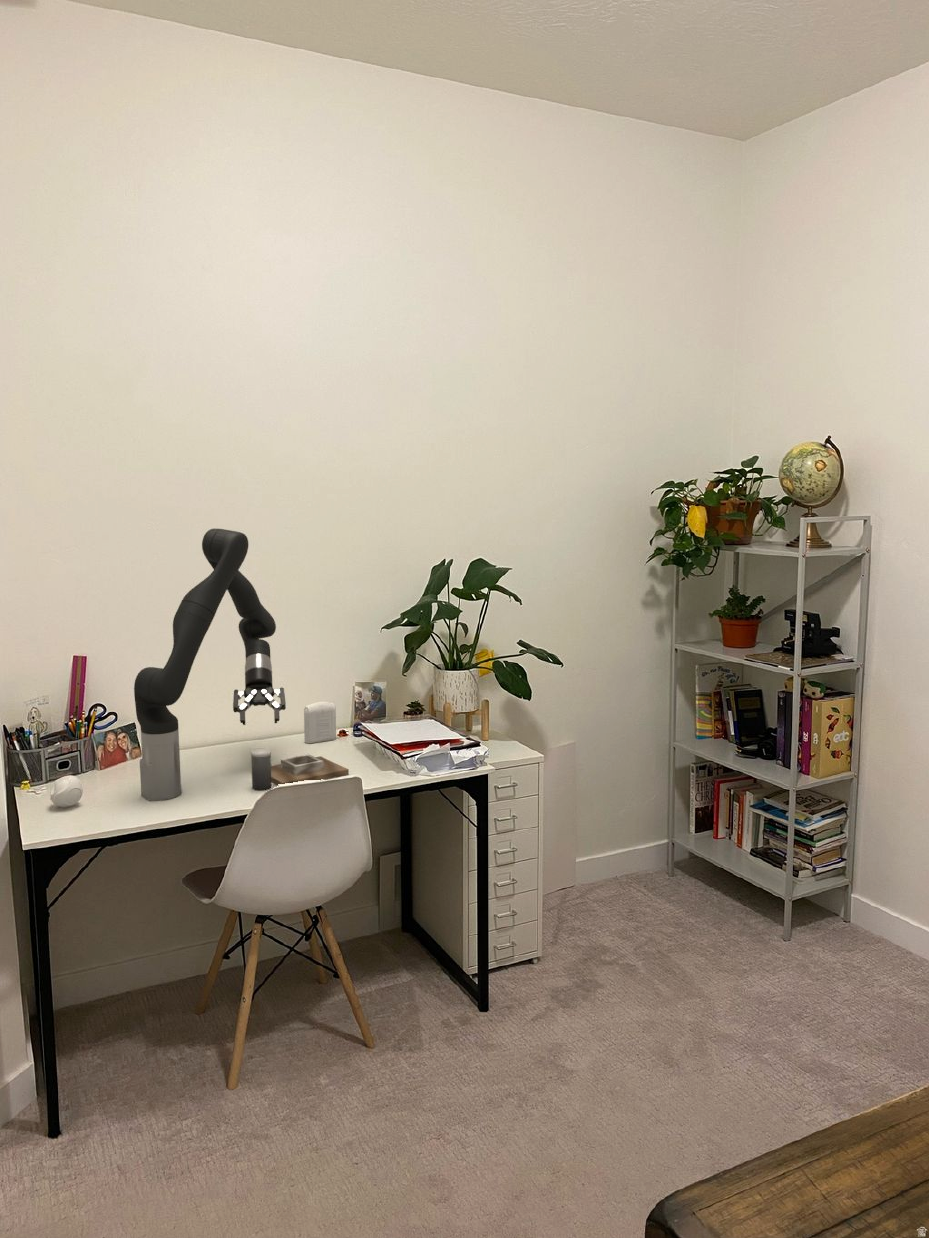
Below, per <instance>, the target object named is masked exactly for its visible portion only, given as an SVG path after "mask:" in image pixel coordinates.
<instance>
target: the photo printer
mask: <svg viewBox="0 0 929 1238" xmlns="http://www.w3.org/2000/svg"><path fill="white" fill-rule="evenodd" d="M303 728H304V732H303V733H304V743H305V744H314V743H320V742H327V741H328V742H329V741H335V740H336V739H337V711H336V705H335V703H333V702H330V701H315V702H313V703H310V704H308V705H305V707H304V709H303Z"/></svg>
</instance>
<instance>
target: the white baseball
mask: <svg viewBox="0 0 929 1238" xmlns="http://www.w3.org/2000/svg"><path fill="white" fill-rule="evenodd" d="M54 783H55V784H54V786H53V788H52V789H51V791H50V794H49V795H50V797H49V798H50V802H52V803H53V805H55V806H56V807H60V808H69V807H72V806H74V805H76V804H77V803H79V802H80V800H81V798H82V796H83V792H84V788H83V783H82V782H81V780H80V779H79V778H78V777H77V776H75V775H65V776H62V777H60V778H58V779H55V781H54Z"/></svg>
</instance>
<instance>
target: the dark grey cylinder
mask: <svg viewBox="0 0 929 1238" xmlns="http://www.w3.org/2000/svg"><path fill="white" fill-rule="evenodd" d="M250 752H251V753H250V757H251V762H250V763H251V780H252V781H251V785H252V788H251V789H252V790H253V791H256V792H257V791H259V792H260V791H263V792H264V791H268V790H271V789H270V788H271V787H273V786H272V784H273V783H272V782H271V766H272V757H271V756H272V755H271V753H272V751H271V749H269V748H265V747H264V748H262V747H261V748H254V749H252V750H251V751H250Z"/></svg>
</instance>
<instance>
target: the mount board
mask: <svg viewBox="0 0 929 1238" xmlns="http://www.w3.org/2000/svg"><path fill="white" fill-rule="evenodd" d="M349 771H350V770H349V769H348V768H346V767H345V766H342V765H340V764H338V763H336V762H333V761H332V760H329V759H327V758H325V757H323V756H314V755H311V754H309V753H307V754H303V755H298V756H297V755H296V756H292V757H287V758H281V759H280V763H279V764H275V765H271V782H272V784H274V785H275V786H277V785H278V784H285V783H293V782H298V781H304V780H320V781H322V780H321V779H325V780H329V779H333V778H334V777H335V778H338V777H343V776H348V775H349V773H350V772H349Z"/></svg>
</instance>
